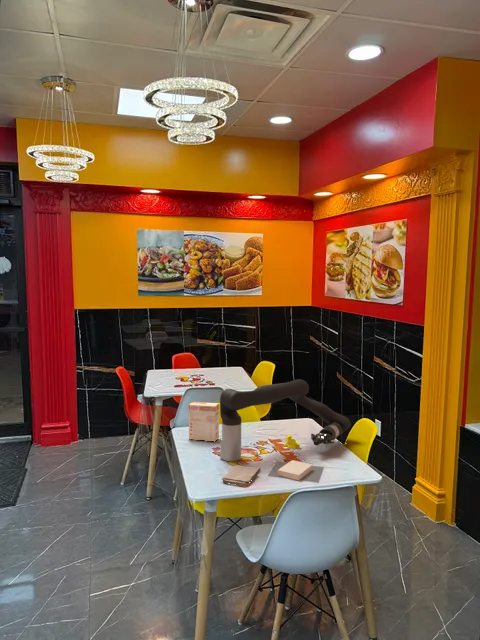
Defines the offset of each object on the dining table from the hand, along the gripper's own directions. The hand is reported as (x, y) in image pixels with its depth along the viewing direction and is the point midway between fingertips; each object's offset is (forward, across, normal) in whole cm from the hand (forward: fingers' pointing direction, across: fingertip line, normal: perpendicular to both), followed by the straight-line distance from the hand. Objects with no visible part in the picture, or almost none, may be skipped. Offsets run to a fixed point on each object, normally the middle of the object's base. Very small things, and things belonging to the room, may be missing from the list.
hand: (315, 443), depth 226 cm
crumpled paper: (-9, -17, +8) cm, 20 cm away
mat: (+20, 0, +8) cm, 22 cm away
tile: (+15, 0, +6) cm, 16 cm away
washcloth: (+38, -18, +8) cm, 43 cm away
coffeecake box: (+6, -62, +8) cm, 63 cm away
